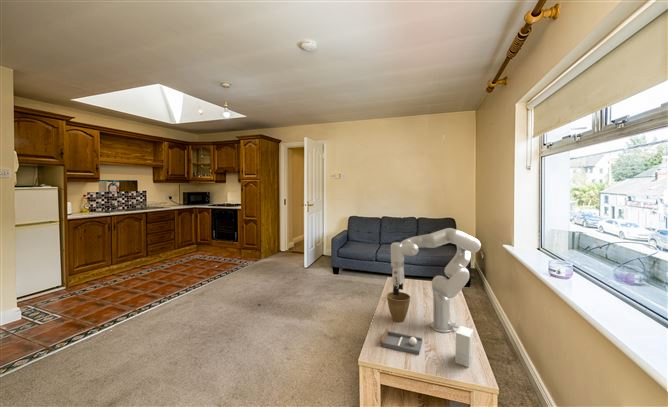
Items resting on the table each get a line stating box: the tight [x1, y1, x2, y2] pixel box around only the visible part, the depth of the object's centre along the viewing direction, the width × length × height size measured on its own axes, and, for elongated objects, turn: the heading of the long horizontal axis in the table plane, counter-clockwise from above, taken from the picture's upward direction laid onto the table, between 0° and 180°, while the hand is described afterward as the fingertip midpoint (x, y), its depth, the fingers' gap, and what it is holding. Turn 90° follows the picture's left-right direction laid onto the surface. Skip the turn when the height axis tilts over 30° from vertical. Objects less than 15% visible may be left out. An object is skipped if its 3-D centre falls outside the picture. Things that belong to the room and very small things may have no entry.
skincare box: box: [454, 325, 474, 368], centre depth 132 cm, size 8×7×16 cm
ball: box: [409, 337, 417, 345], centre depth 146 cm, size 4×4×4 cm
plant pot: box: [386, 291, 411, 323], centre depth 175 cm, size 15×15×16 cm
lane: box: [380, 328, 423, 356], centre depth 148 cm, size 20×13×4 cm, turn 65°
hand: (398, 292), depth 160 cm, fingers open, 9 cm apart
